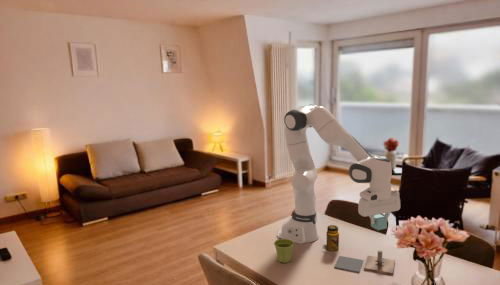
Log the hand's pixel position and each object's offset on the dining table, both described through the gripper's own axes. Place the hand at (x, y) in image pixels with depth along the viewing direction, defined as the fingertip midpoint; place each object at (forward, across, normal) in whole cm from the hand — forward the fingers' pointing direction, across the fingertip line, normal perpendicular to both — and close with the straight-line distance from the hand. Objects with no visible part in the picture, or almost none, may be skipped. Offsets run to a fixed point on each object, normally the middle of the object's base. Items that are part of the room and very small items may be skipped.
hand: (379, 222), depth 156 cm
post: (+21, -1, 0) cm, 21 cm away
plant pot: (+21, +37, -22) cm, 48 cm away
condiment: (+21, +11, -22) cm, 33 cm away
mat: (+21, +11, -6) cm, 25 cm away
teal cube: (+2, 0, 0) cm, 3 cm away
